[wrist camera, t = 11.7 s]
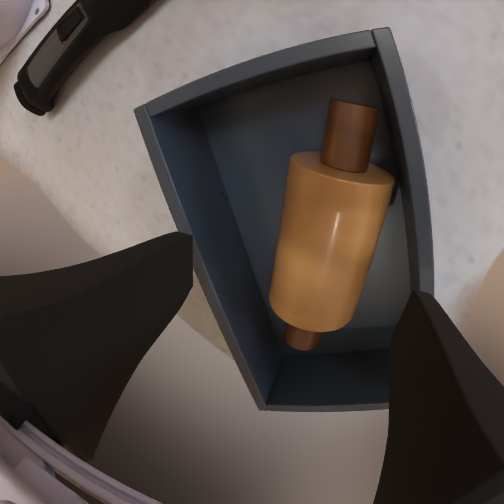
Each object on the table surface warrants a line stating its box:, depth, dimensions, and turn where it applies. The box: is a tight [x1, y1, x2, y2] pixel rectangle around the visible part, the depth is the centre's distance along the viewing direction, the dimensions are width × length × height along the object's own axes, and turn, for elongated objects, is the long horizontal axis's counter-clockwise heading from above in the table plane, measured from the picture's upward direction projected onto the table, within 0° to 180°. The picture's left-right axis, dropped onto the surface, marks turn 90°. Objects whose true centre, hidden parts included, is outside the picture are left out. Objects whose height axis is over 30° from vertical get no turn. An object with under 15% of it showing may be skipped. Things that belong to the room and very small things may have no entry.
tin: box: [134, 27, 434, 412], centre depth 14 cm, size 9×16×4 cm, turn 18°
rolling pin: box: [269, 98, 395, 351], centre depth 13 cm, size 4×11×4 cm, turn 174°
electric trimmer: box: [14, 0, 152, 116], centre depth 12 cm, size 4×16×3 cm, turn 119°
